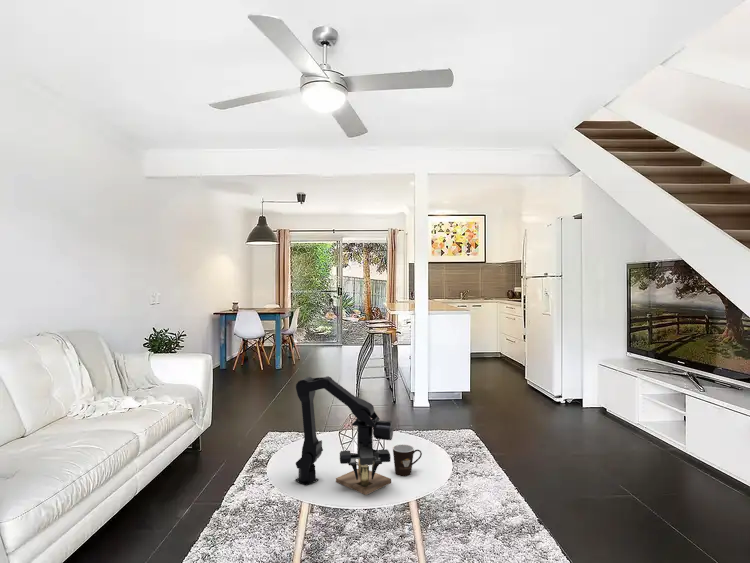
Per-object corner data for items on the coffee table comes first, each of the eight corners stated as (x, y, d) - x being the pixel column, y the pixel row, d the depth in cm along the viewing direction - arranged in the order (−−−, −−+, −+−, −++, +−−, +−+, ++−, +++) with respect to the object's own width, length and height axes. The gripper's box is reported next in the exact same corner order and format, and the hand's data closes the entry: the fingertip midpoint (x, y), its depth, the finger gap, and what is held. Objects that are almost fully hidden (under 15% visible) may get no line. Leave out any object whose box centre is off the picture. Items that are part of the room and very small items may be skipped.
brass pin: (360, 489, 171) (360, 468, 171) (360, 486, 175) (360, 464, 175) (369, 489, 172) (369, 468, 172) (368, 485, 175) (368, 464, 175)
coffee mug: (391, 476, 183) (391, 451, 183) (393, 468, 191) (393, 443, 191) (420, 478, 181) (421, 453, 181) (421, 469, 190) (421, 445, 190)
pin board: (335, 481, 178) (336, 463, 178) (361, 470, 188) (361, 453, 188) (366, 495, 167) (366, 475, 167) (391, 482, 178) (391, 464, 178)
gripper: (340, 446, 164) (340, 490, 164) (392, 444, 166) (392, 487, 166) (339, 435, 175) (339, 476, 175) (388, 434, 177) (388, 474, 177)
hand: (364, 479), depth 173 cm, fingers open, 5 cm apart
